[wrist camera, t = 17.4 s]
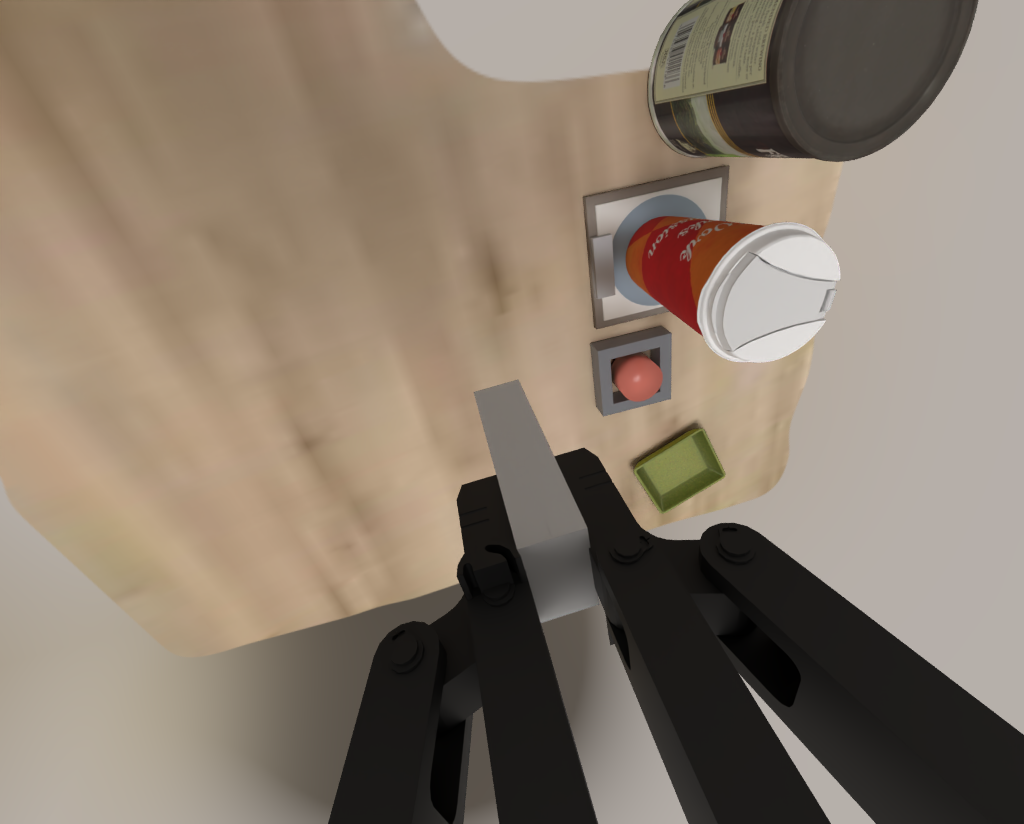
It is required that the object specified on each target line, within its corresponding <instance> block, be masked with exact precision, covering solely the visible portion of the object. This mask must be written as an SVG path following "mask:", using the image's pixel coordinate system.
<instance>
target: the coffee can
mask: <svg viewBox="0 0 1024 824" xmlns="http://www.w3.org/2000/svg"><path fill="white" fill-rule="evenodd" d="M977 4H978V0H690V1H688V2H687V3H686V4H684V5H683V6H682V7H681V8H680V9H679V10H678V12H677V13H676V14H675V15H674V16H673V18H672V19H671V20H670V22H669V23H668V25H667V26H666V28H665V30H664V31H663V33H662V35H661V36H660V39H659V41H658V44H657V46H656V49H655V52H654V55H653V59H652V62H651V66H650V71H649V78H648V103H649V108H650V112H651V117H652V120H653V123H654V125H655V128H656V130H657V132H658V133H659V135H660V136H661V138H662V139H663V140H664V142H665V143H666V144H667V145H668V146H669V147H671V148H672V149H673V150H674V151H676V152H678V153H680V154H682V155H685V156H688V157H695V158H703V157H766V158H815V159H818V160H823V161H834V162H842V161H849V160H855V159H858V158H861V157H865V156H867V155H870V154H872V153H874V152H876V151H878V150H880V149H882V148H884V147H885V146H887V145H889V144H890V143H891V142H893V141H894V140H896V139H897V138H898V137H900V136H901V135H902V134H903V133H905V132H906V131H907V130H908V129H909V128H910V127H911V126H912V125H913V124H914V123H915V122H916V121H917V120H918V119H919V118H920V117H921V115H922V114H923V113H924V112H925V111H926V110H927V109H928V108H929V106H930V105H931V104H932V103H933V101H934V100H935V98H936V97H937V95H938V94H939V93H940V91H941V90H942V88H943V87H944V85H945V83H946V82H947V80H948V78H949V77H950V75H951V73H952V72H953V69H954V68H955V66H956V64H957V62H958V60H959V58H960V56H961V54H962V51H963V49H964V46H965V44H966V41H967V39H968V36H969V34H970V31H971V27H972V23H973V20H974V17H975V13H976V8H977Z"/></svg>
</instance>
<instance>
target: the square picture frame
mask: <svg viewBox="0 0 1024 824" xmlns="http://www.w3.org/2000/svg"><path fill="white" fill-rule="evenodd" d="M728 178H729V166H721V167H716V168H712V169H707V170H703V171H698V172H694V173H689V174H685V175H680V176H676V177H671V178H667V179H662V180H658V181H653V182H649V183H644V184H640V185H635V186H631V187H626V188H622V189H617V190H613V191H608V192H604V193H599V194H595V195H590V196H586V197H583V202H584V214H585V225H586V237H587V249H588V260H589V272H590V284H591V295H592V307H593V319H594V327H595V328H596V329H600V328H604V327H608V326H612V325H616V324H620V323H624V322H628V321H632V320H636V319H640V318H645V317H649V316H653V315H657V314H661V313H665V312H669V310H668V309H666V308H665V307H664V306H663V305H661V304H660V303H659V302H657V301H656V300H655V299H654V298H652V297H651V296H650V295H649V294H647V293H646V292H645V291H644V290H642V289H641V288H640V287H639V286H638V285H637V284H636V283H635V282H634V281H633V280H632V279H631V277H630V276H629V274H628V271H627V268H626V251H627V248H628V245H629V242H630V240H631V238H632V237H633V235H634V234H635V232H636V231H637V230H638V229H639V228H640V227H641V226H642V225H643V224H645V223H646V222H648V221H649V220H651V219H654V218H657V217H662V216H677V217H689V218H699V219H708V220H717V221H726V208H727V193H728Z"/></svg>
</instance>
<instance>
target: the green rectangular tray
mask: <svg viewBox="0 0 1024 824" xmlns="http://www.w3.org/2000/svg"><path fill="white" fill-rule="evenodd" d="M634 474H635V475H636V477H637V479H638V480H639V481H640V483H641V485H642V486H643V488H644V489H645V491H646V492H647V494H648V495H649V497H650V498H651V500H652V502H653V503H654V505H655V506H656V508H657V509H658V511H659V512H660V513H666V512H668V511H670V510H671V509H673V508H675V507H676V506H678V505H679V504H681V503H683V502H684V501H686V500H688V499H689V498H691V497H693V496H694V495H696V494H698V493H699V492H701V491H703V490H704V489H706V488H708V487H710V486H711V485H713V484H715V483H716V482H718V481H720V480H721V479H723V478H724V477H725V471H724V469H723V467H722V465H721V463H720V461H719V459H718V457H717V455H716V453H715V451H714V449H713V447H712V445H711V442H710V440H709V438H708V436H707V434H706V432H705V430H704V429H703V428H699V429H693V430H690V431H688V432H686V433H685V434H683V435H681V436H680V437H678V438H677V439H675V440H673V441H672V442H670V443H668V444H667V445H665V446H664V447H662V448H660V449H659V450H657V451H655V452H654V453H652V454H651V455H649V456H647V457H646V458H644V459H642V460H641V461H640V462H638V464H637V465H636V466H635V469H634Z"/></svg>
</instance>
